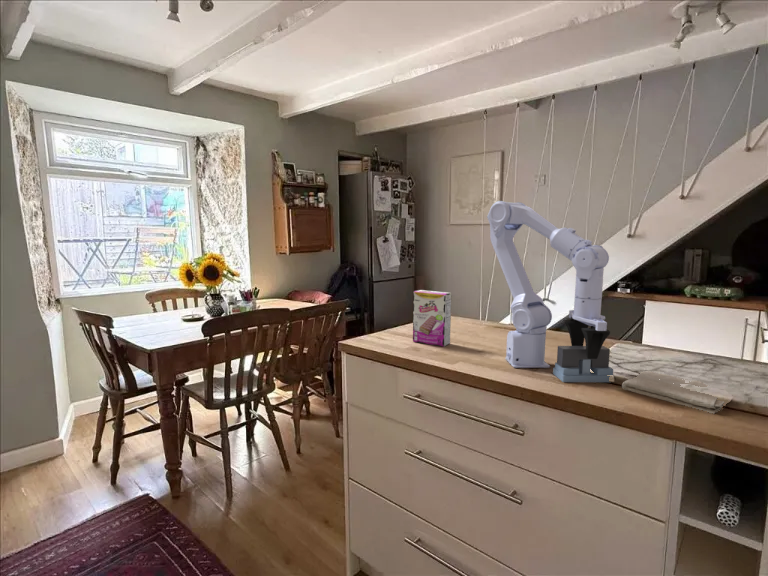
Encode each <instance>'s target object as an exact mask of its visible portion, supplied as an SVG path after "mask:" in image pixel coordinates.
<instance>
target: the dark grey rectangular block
mask: <svg viewBox="0 0 768 576" xmlns="http://www.w3.org/2000/svg"><path fill="white" fill-rule="evenodd" d="M610 353H611V350H610V348H608V347H606V346H605V345H602V347H601V350H600V352H599V355H598V358H597V359H588V358H587V356H586V345H583V346H572V345H557V354H556V355H557V356H556V362H557V364H558V365H559V366H560V367H562V368H579V360H591V365H590V367H591V368H609V367H610Z"/></svg>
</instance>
